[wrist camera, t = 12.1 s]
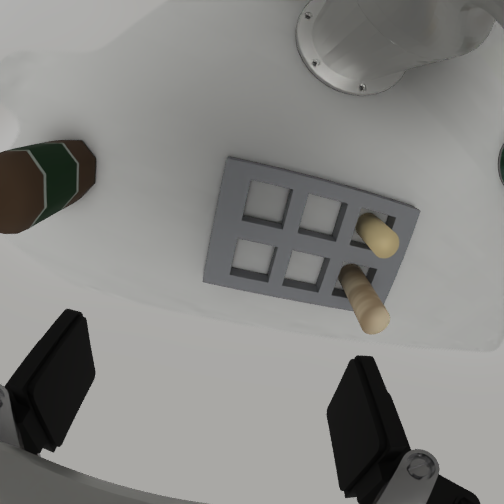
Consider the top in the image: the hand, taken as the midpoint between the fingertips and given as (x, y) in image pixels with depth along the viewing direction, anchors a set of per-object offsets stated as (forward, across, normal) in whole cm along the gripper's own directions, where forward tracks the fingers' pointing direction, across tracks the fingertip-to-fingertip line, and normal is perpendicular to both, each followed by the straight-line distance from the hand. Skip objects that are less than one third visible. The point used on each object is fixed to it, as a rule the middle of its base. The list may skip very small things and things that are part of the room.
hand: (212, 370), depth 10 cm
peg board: (+26, -8, +4) cm, 28 cm away
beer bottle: (+26, +21, 0) cm, 34 cm away
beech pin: (+26, -14, +8) cm, 31 cm away
